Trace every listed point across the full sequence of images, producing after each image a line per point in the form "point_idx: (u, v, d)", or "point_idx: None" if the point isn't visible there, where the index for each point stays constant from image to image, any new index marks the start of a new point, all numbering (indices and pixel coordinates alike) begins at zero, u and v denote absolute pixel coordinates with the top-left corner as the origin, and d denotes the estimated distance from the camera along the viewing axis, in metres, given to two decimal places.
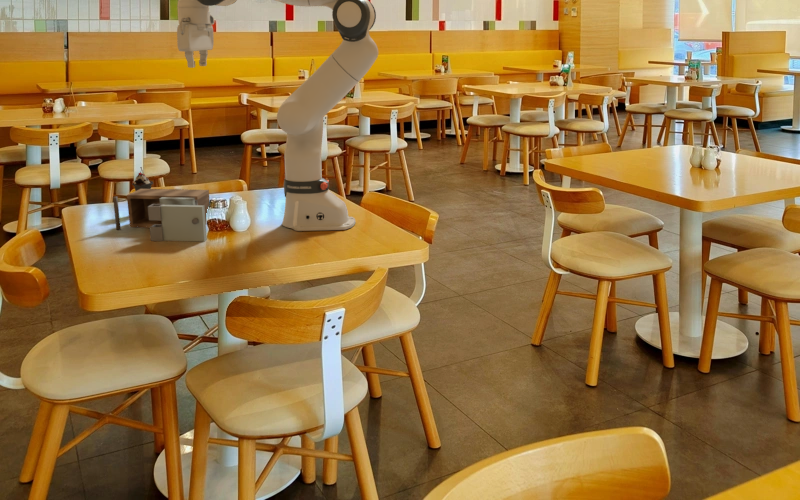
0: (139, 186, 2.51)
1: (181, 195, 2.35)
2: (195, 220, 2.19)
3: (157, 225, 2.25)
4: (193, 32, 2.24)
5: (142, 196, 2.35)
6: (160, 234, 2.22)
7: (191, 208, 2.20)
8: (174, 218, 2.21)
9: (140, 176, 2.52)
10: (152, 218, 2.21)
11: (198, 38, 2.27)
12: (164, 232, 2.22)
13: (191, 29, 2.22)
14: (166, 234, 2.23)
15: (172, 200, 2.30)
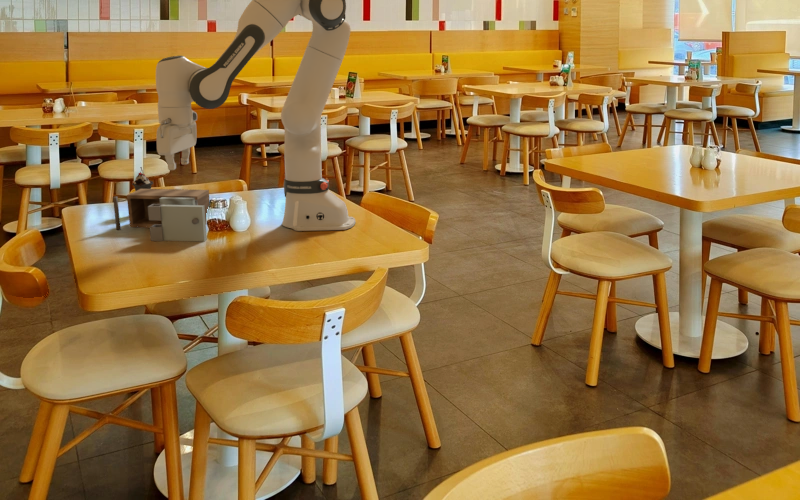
0: (139, 186, 2.51)
1: (181, 195, 2.35)
2: (195, 220, 2.19)
3: (157, 225, 2.25)
4: (174, 134, 2.10)
5: (142, 196, 2.35)
6: (160, 234, 2.22)
7: (191, 208, 2.20)
8: (174, 218, 2.21)
9: (140, 176, 2.52)
10: (152, 218, 2.21)
11: (180, 139, 2.14)
12: (164, 232, 2.22)
13: (172, 131, 2.08)
14: (166, 234, 2.23)
15: (172, 200, 2.30)
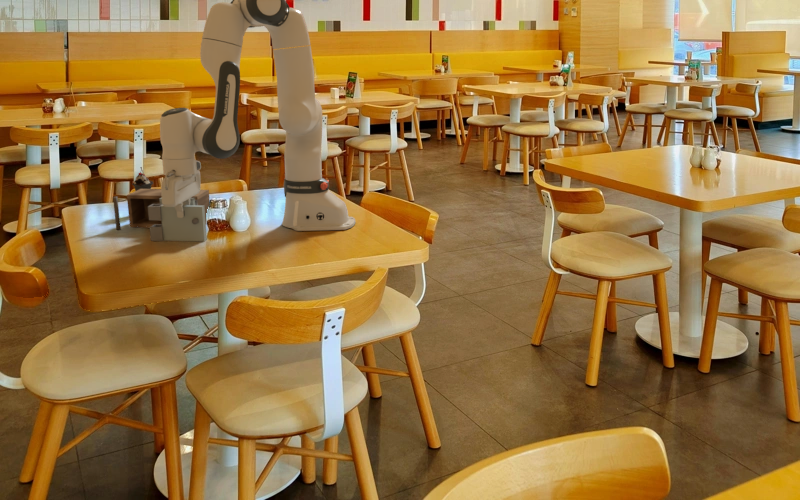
0: (139, 186, 2.51)
1: None
2: (195, 220, 2.19)
3: (157, 225, 2.25)
4: (178, 185, 2.14)
5: (142, 196, 2.35)
6: (160, 234, 2.22)
7: (191, 208, 2.20)
8: (174, 218, 2.21)
9: (140, 176, 2.52)
10: (152, 218, 2.21)
11: (184, 189, 2.17)
12: (164, 232, 2.22)
13: (176, 183, 2.12)
14: (166, 234, 2.23)
15: None
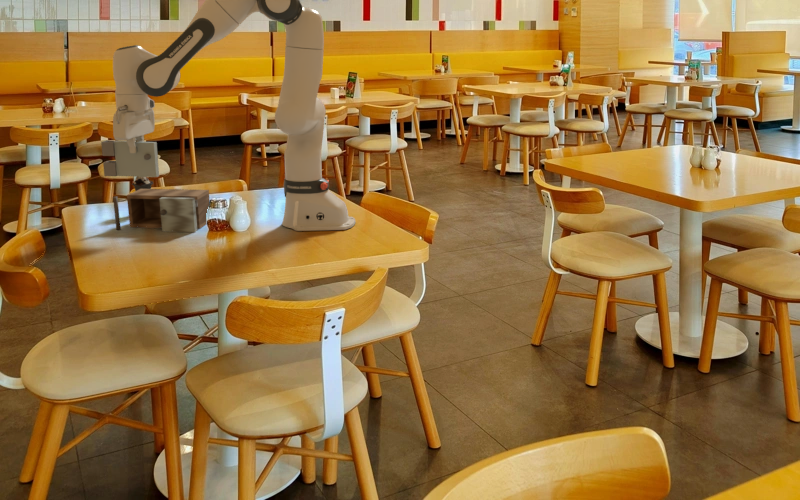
0: (139, 186, 2.51)
1: (181, 195, 2.35)
2: (147, 156, 2.26)
3: (111, 161, 2.31)
4: (130, 120, 2.20)
5: (142, 196, 2.35)
6: (114, 170, 2.28)
7: (143, 144, 2.26)
8: (127, 154, 2.27)
9: None
10: (105, 153, 2.27)
11: (137, 125, 2.24)
12: (117, 168, 2.29)
13: (128, 117, 2.18)
14: (119, 170, 2.29)
15: (172, 200, 2.30)
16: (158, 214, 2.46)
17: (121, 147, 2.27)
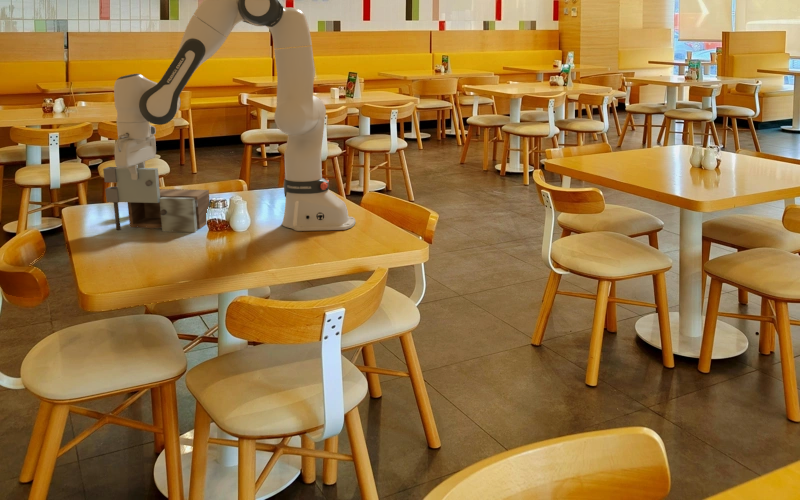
0: None
1: (181, 195, 2.35)
2: (148, 182, 2.28)
3: (113, 187, 2.34)
4: (132, 147, 2.23)
5: None
6: (116, 196, 2.31)
7: (145, 170, 2.29)
8: (129, 181, 2.30)
9: None
10: (107, 180, 2.30)
11: (138, 152, 2.26)
12: (119, 194, 2.32)
13: (129, 145, 2.21)
14: (121, 196, 2.32)
15: (172, 200, 2.30)
16: (158, 214, 2.46)
17: (123, 174, 2.30)
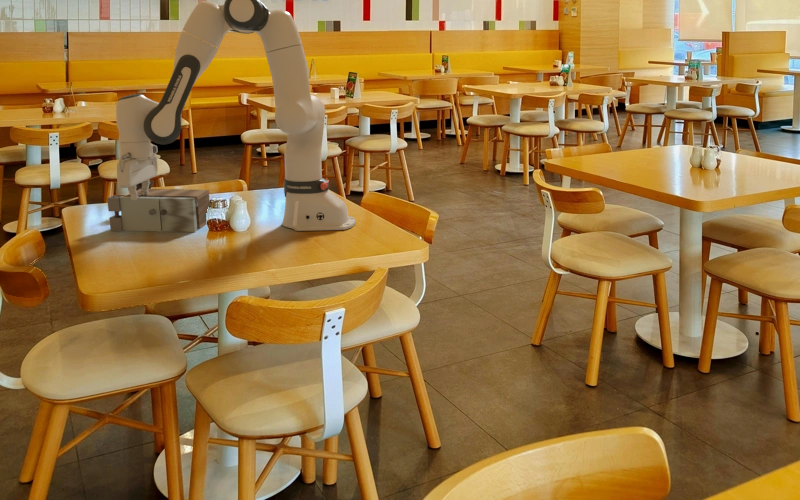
0: (139, 186, 2.51)
1: (181, 195, 2.35)
2: (152, 211, 2.31)
3: None
4: (134, 167, 2.24)
5: (142, 196, 2.35)
6: (120, 224, 2.33)
7: (148, 200, 2.31)
8: (132, 209, 2.32)
9: None
10: (111, 209, 2.32)
11: (140, 171, 2.28)
12: (123, 222, 2.34)
13: (131, 165, 2.22)
14: (125, 225, 2.34)
15: (172, 200, 2.30)
16: None
17: (126, 203, 2.32)
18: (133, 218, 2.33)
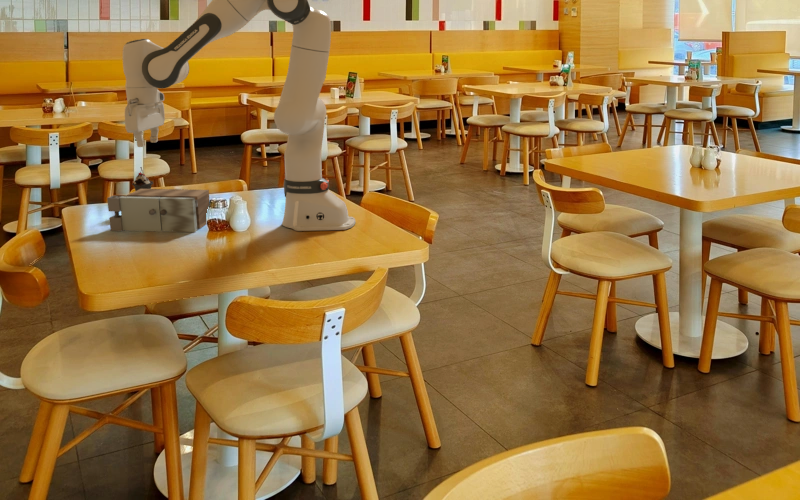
0: (139, 186, 2.51)
1: (181, 195, 2.35)
2: (152, 211, 2.31)
3: None
4: (141, 112, 2.23)
5: (142, 196, 2.35)
6: (120, 224, 2.33)
7: (148, 200, 2.31)
8: (132, 209, 2.32)
9: (140, 176, 2.52)
10: (111, 209, 2.32)
11: (148, 117, 2.27)
12: (123, 222, 2.34)
13: (139, 110, 2.21)
14: (125, 225, 2.34)
15: (172, 200, 2.30)
16: None
17: (126, 203, 2.32)
18: (133, 218, 2.33)
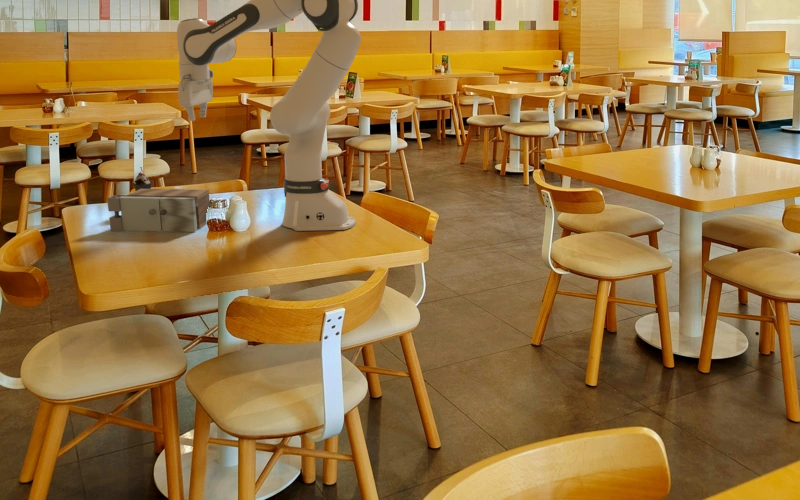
0: (139, 186, 2.51)
1: (181, 195, 2.35)
2: (152, 211, 2.31)
3: None
4: (193, 88, 2.36)
5: (142, 196, 2.35)
6: (120, 224, 2.33)
7: (148, 200, 2.31)
8: (132, 209, 2.32)
9: (140, 176, 2.52)
10: (111, 209, 2.32)
11: (198, 93, 2.40)
12: (123, 222, 2.34)
13: (192, 85, 2.34)
14: (125, 225, 2.34)
15: (172, 200, 2.30)
16: None
17: (126, 203, 2.32)
18: (133, 218, 2.33)
